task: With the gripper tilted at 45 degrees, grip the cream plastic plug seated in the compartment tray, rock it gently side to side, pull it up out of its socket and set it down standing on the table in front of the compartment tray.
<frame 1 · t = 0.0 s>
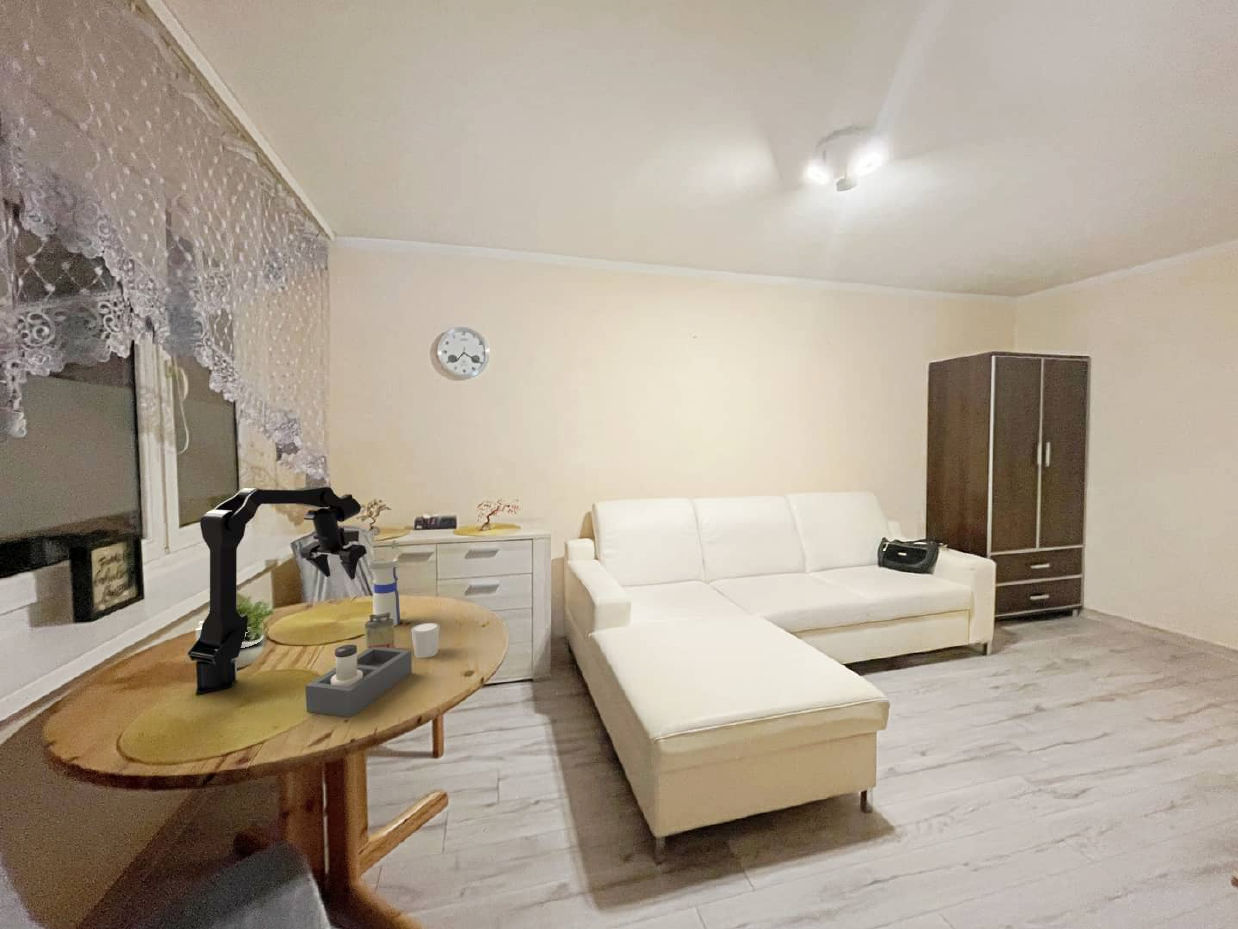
hand: (340, 577, 146), 15 cm above the table, tool pointing down, fingers open, 9 cm apart
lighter: (380, 652, 132), on the table
plug: (347, 689, 107), point 2 cm above the table, touching compartment tray
white spray bottle: (386, 623, 152), on the table
shot glass: (426, 654, 131), on the table
compartment tray: (347, 701, 107), on the table
bracket: (230, 648, 135), on the table
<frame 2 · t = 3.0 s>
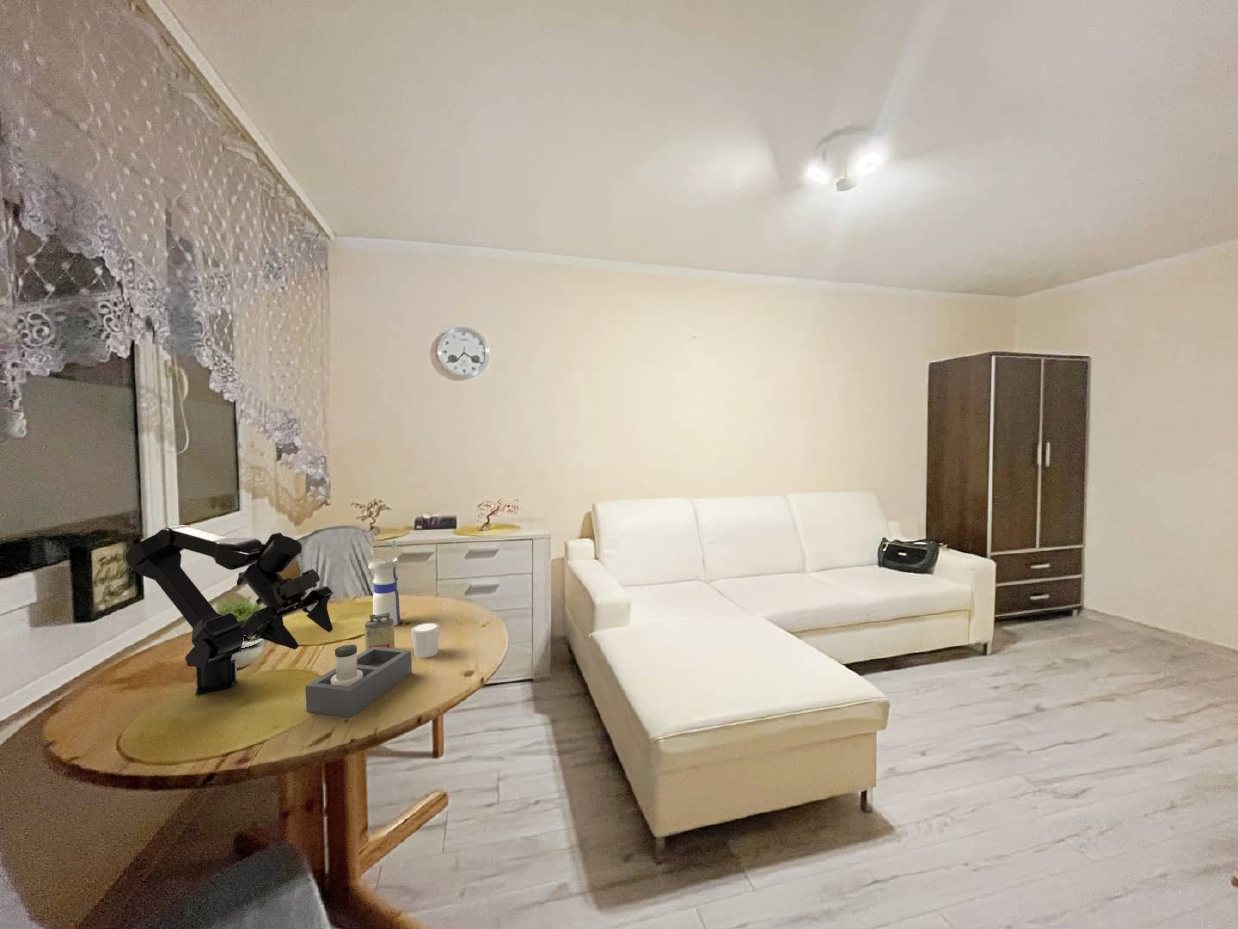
hand: (314, 639, 108), 13 cm above the table, tool tilted 45°, fingers open, 9 cm apart
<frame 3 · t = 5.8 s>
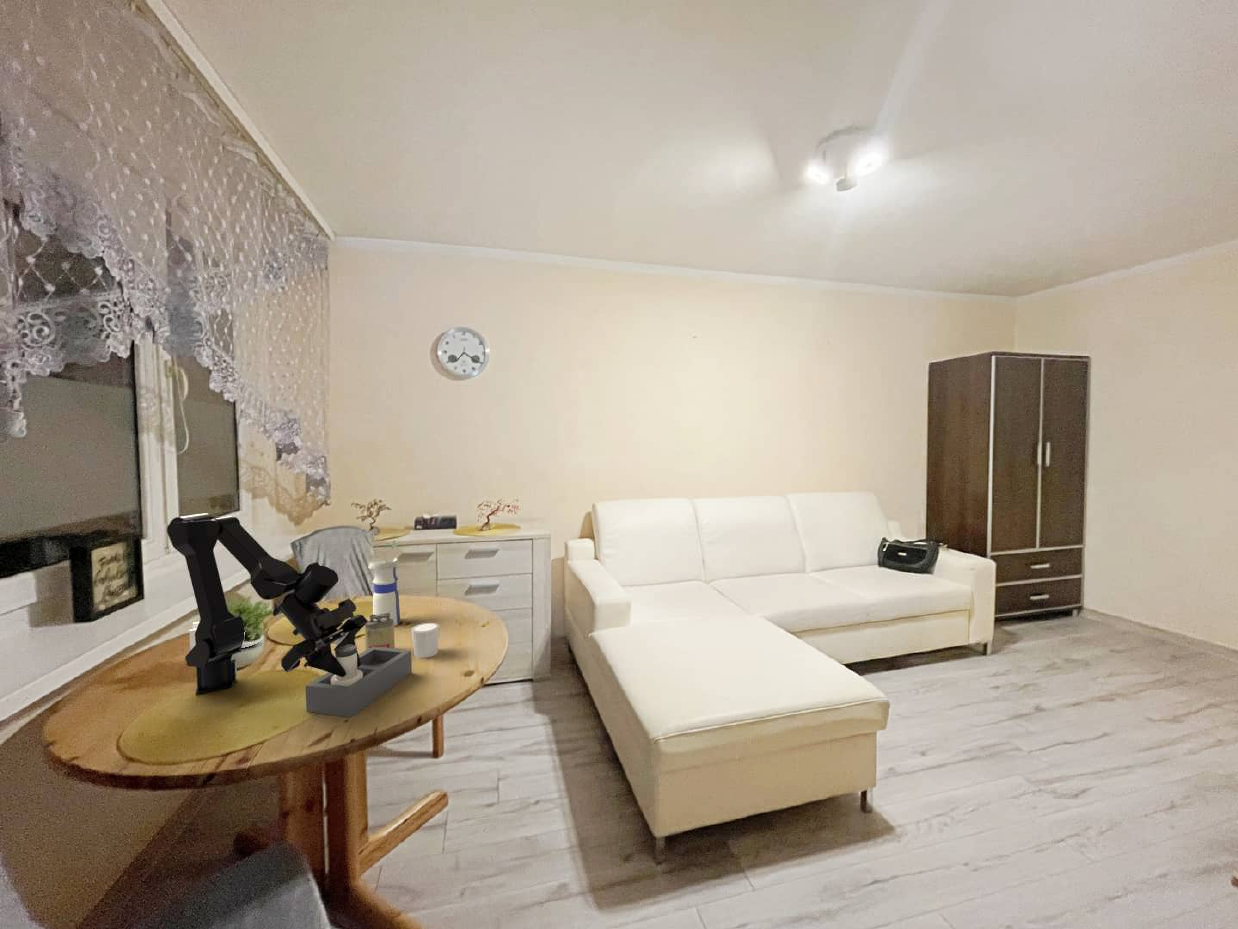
hand: (352, 670, 106), 7 cm above the table, tool tilted 45°, fingers closed on plug, 4 cm apart
plug: (347, 689, 107), point 3 cm above the table, touching gripper, compartment tray
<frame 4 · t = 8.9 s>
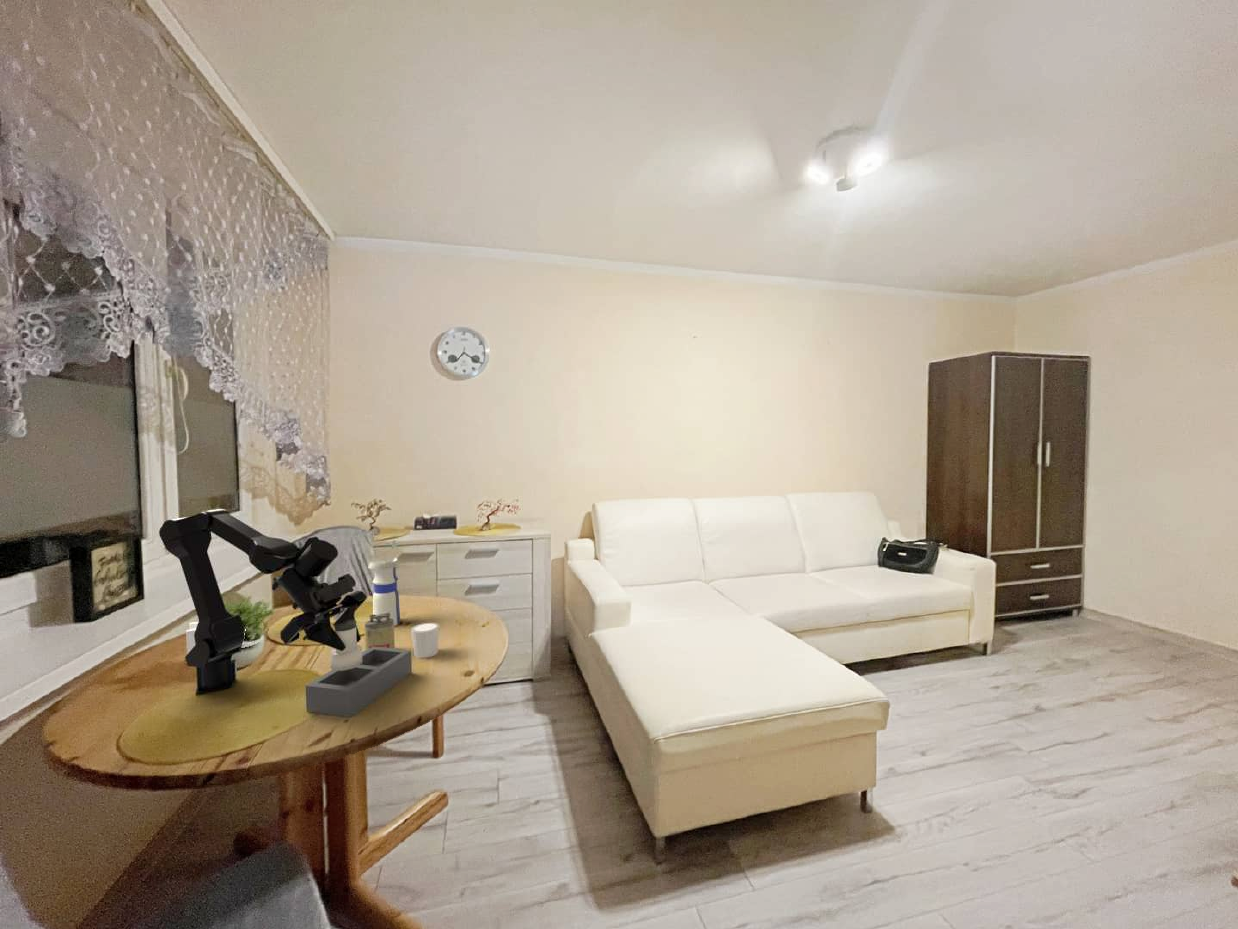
hand: (351, 645, 106), 12 cm above the table, tool tilted 45°, fingers closed on plug, 4 cm apart
plug: (346, 664, 107), point 8 cm above the table, touching gripper
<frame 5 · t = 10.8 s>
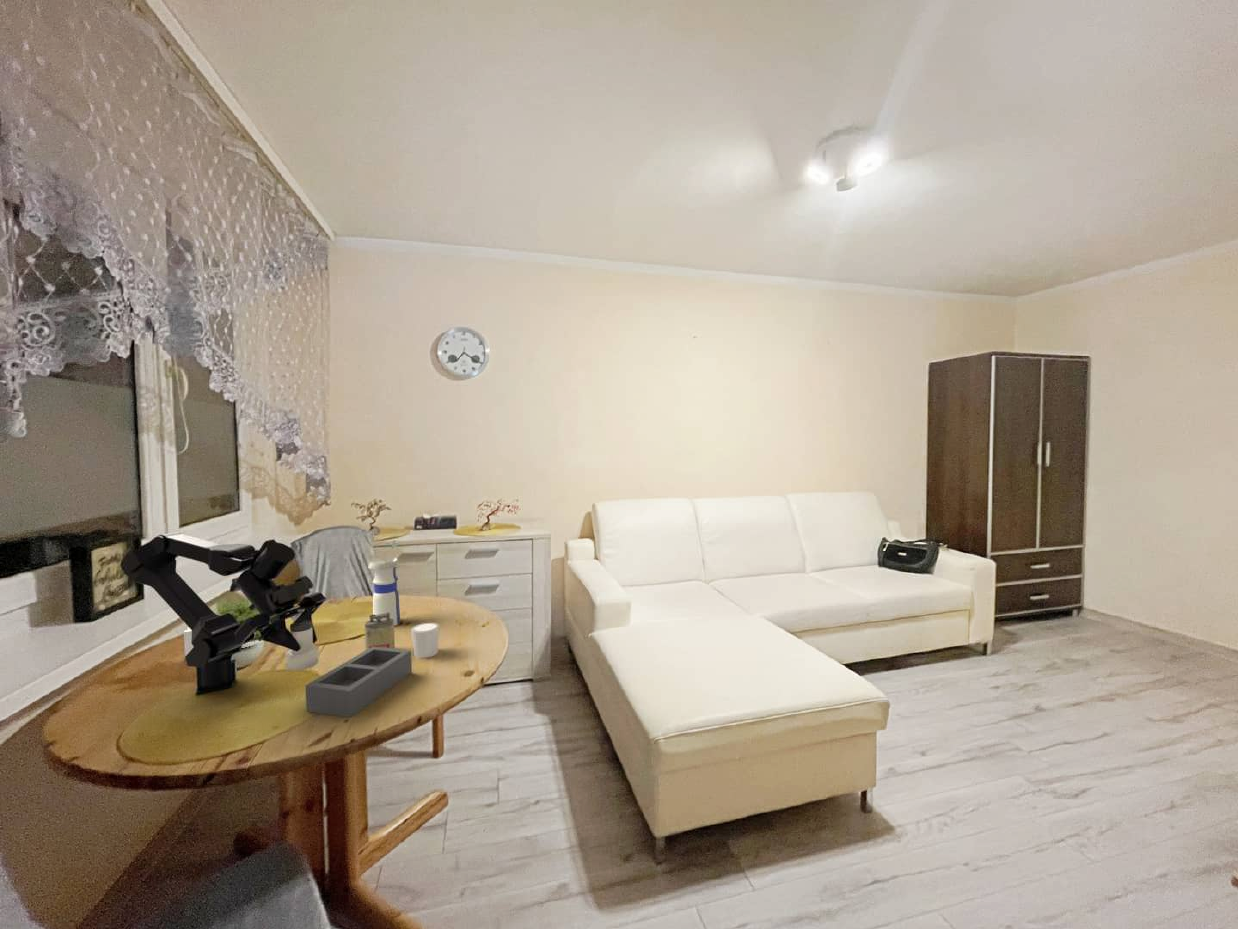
hand: (307, 645, 108), 11 cm above the table, tool tilted 45°, fingers closed on plug, 4 cm apart
plug: (302, 664, 109), point 7 cm above the table, touching gripper
when the fingers open (6 cm above the table, at t = 12.1 s): plug drops 2 cm, on the table.
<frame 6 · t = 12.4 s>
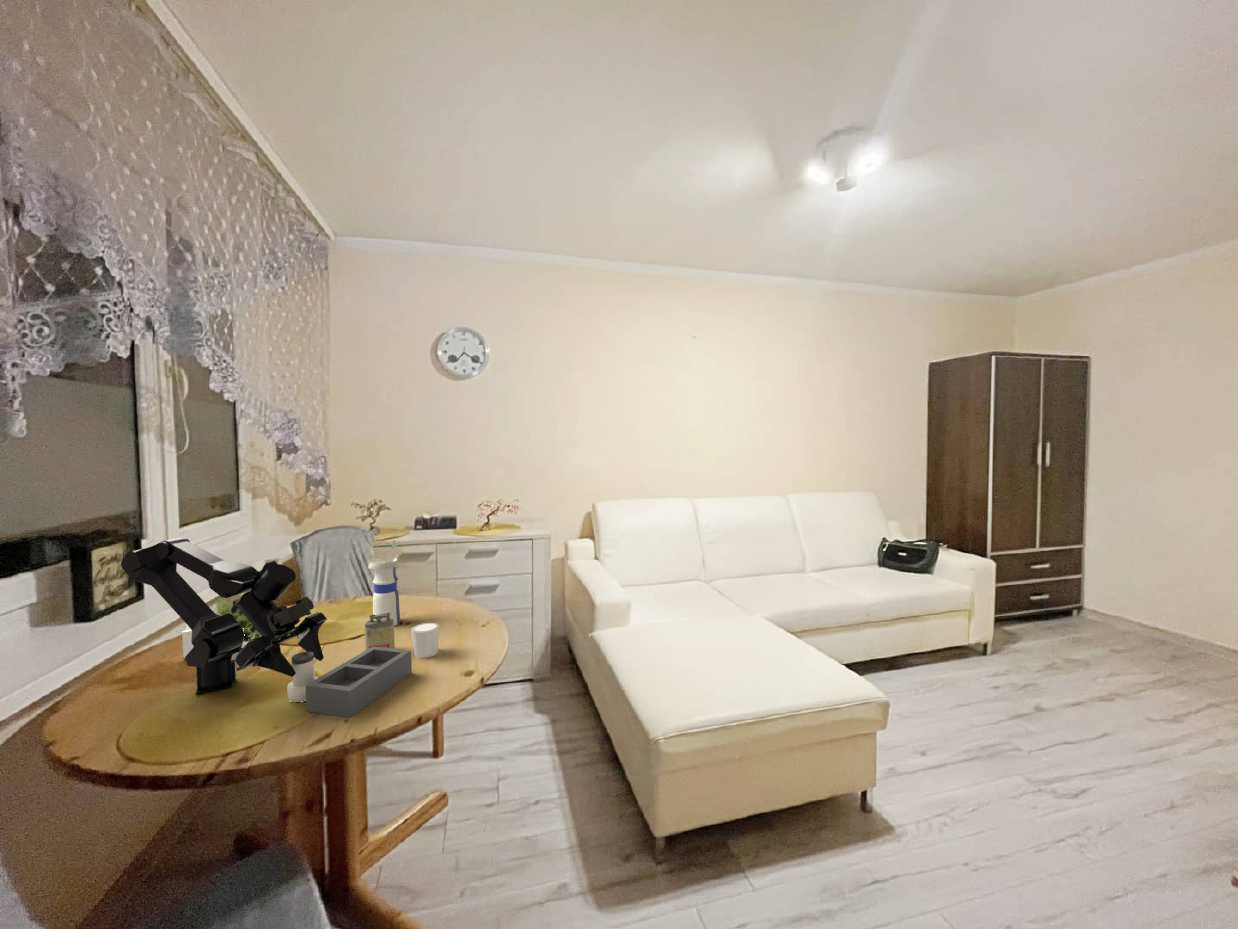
hand: (308, 667, 109), 7 cm above the table, tool tilted 45°, fingers open, 7 cm apart
plug: (304, 696, 109), on the table
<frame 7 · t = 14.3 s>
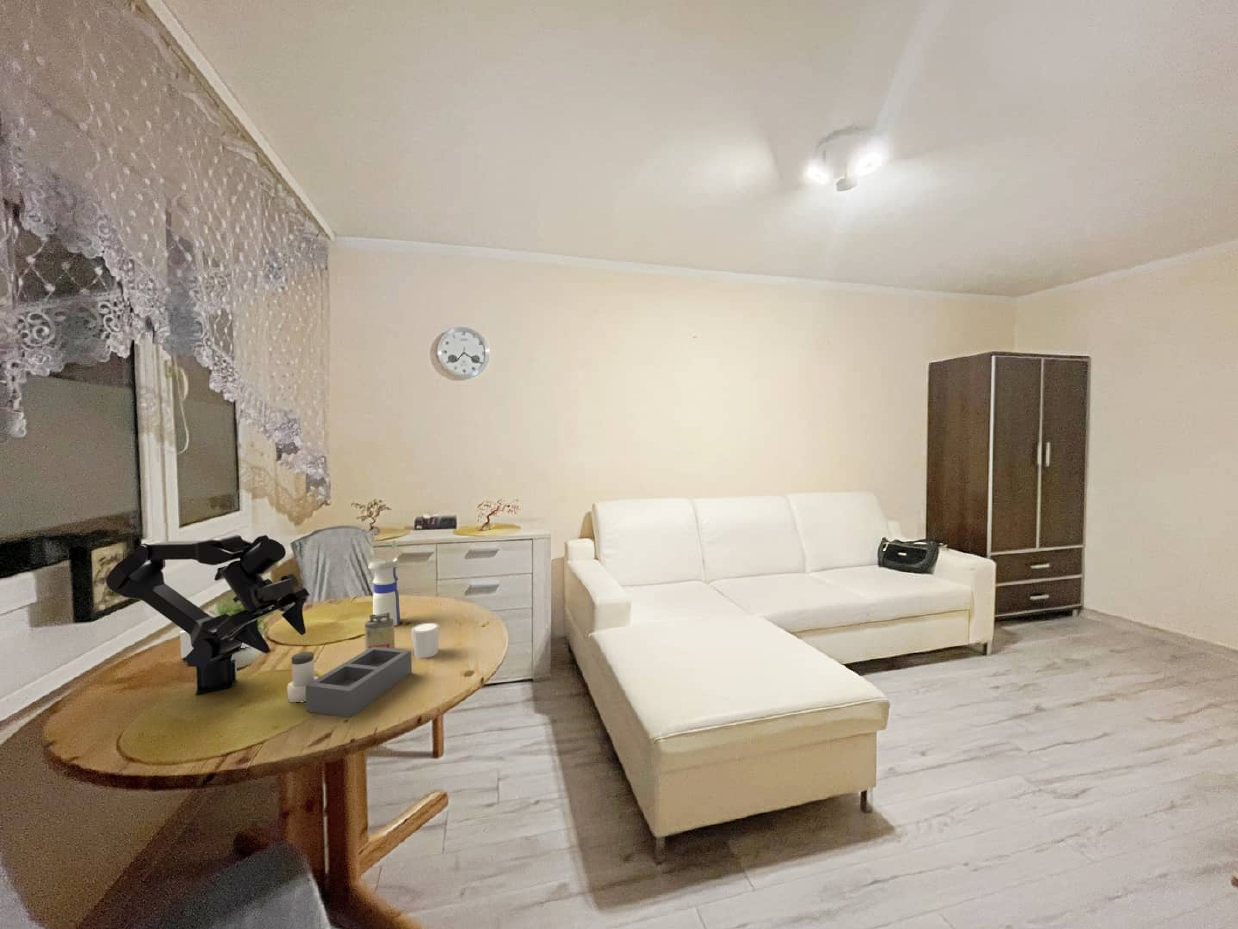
hand: (287, 643, 111), 11 cm above the table, tool tilted 35°, fingers open, 9 cm apart
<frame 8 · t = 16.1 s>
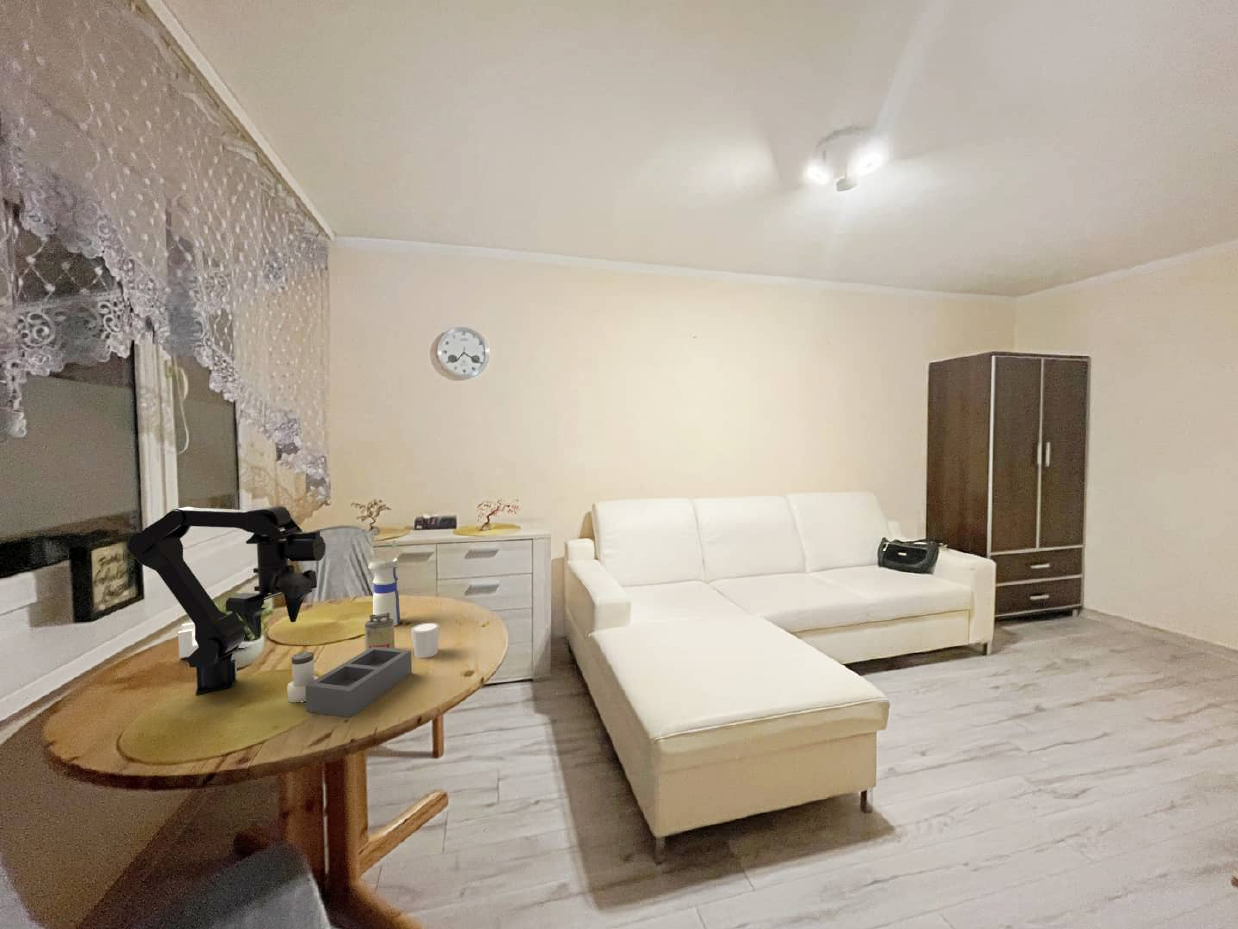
hand: (276, 629, 115), 12 cm above the table, tool pointing down, fingers open, 9 cm apart
at the end: plug on the table; plug moved 11.3 cm from its start; plug tilted 0° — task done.
